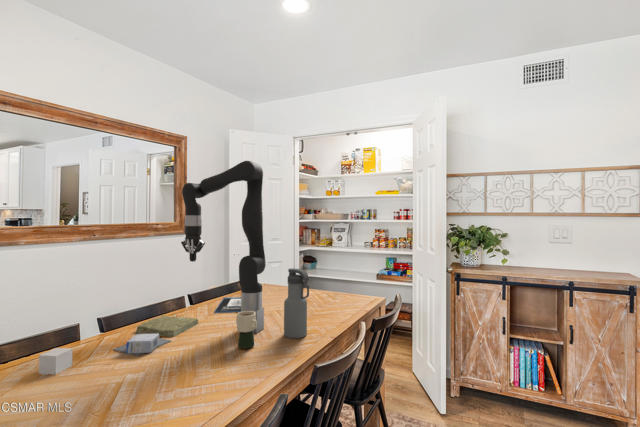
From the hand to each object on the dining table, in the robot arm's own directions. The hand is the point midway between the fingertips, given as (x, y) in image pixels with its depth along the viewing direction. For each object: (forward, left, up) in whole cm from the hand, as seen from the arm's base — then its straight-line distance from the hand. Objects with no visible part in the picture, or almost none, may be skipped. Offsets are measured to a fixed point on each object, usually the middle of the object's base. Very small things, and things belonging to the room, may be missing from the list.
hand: (192, 261), depth 156 cm
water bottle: (-53, -4, -29) cm, 61 cm away
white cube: (+5, +55, -29) cm, 63 cm away
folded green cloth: (+4, +11, -30) cm, 32 cm away
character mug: (-41, +15, -29) cm, 53 cm away
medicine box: (-11, +30, -26) cm, 42 cm away
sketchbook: (-2, -34, -30) cm, 45 cm away
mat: (-4, +30, -29) cm, 42 cm away
